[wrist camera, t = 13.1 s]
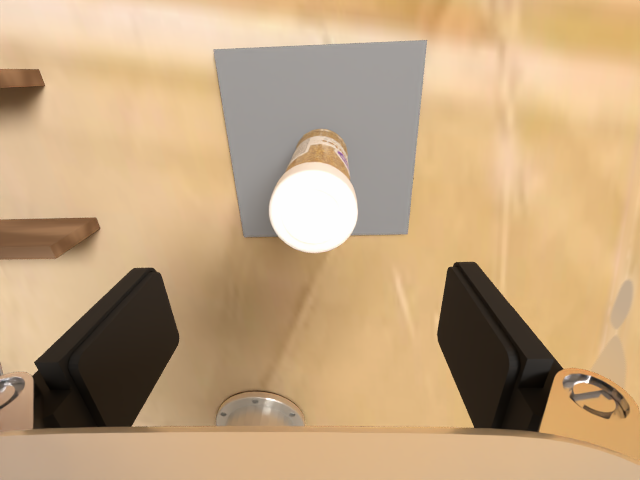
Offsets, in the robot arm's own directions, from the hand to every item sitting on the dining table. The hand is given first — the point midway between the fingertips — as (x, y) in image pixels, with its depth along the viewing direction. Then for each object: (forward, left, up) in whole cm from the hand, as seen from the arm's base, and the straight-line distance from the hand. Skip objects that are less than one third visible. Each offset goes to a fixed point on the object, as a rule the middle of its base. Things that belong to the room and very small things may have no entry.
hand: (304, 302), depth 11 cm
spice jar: (0, 0, -20) cm, 20 cm away
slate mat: (+1, 0, -21) cm, 21 cm away
